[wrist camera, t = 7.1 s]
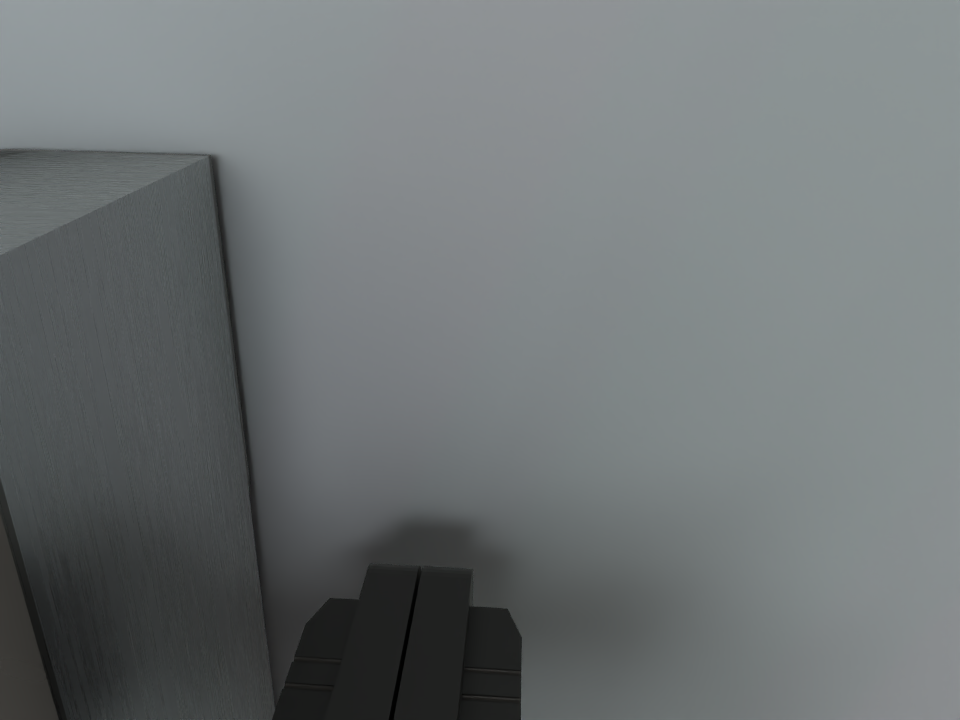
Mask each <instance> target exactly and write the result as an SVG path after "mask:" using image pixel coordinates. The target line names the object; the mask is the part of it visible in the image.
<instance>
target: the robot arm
mask: <svg viewBox="0 0 960 720" xmlns="http://www.w3.org/2000/svg"><path fill="white" fill-rule="evenodd" d="M472 602H473V569H463V568H446V567H430V566H423V568H422V571H421V567H420V566H409V565H392V564H375V563H371V564H370V565H369V567H368V570H367V573H366V576H365V580H364V583H363V587H362V590H361V594H360V598H359V600H352V599H336V598H330V599H329V600H328V601H327V602H326V603H325V604H324V605H323V606H322V607H321V608H320V609H319V611H318V612H317V613H316V614H315V615H314V616H313V617H312V618H311V619H310V620H309V621H308V622H307V623H306V625H305V628H304V631H303V633H302V636H301V639H300V642H299V645H298V647H297V650H296V653H295V658H294V662H292V664H291V667H290V670H289V673H288V675H287V678H286V681H285V688H284V689H282V692H281V695H280V698H279V701H278V703H277V706H276V709H275V712H274V715H273V717H272V720H521V648H522V637H521V635H520V633H519V631H518V629H517V627H516V625H515V623H514V621H513V619H512V617H511V615H510V613H509V611H508V609H503V608H487V607H472Z"/></svg>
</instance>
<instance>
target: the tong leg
mask: <svg viewBox="0 0 960 720" xmlns="http://www.w3.org/2000/svg"><path fill="white" fill-rule="evenodd" d="M249 486H250V477H249V469H248V460H247V452H246V444H245V435H244V427H243V419H242V410H241V402H240V393H239V385H238V377H237V368H236V360H235V352H234V343H233V335H232V326H231V318H230V310H229V301H228V293H227V285H226V276H225V268H224V259H223V251H222V243H221V234H220V226H219V218H218V209H217V201H216V192H215V184H214V176H213V167H212V159H211V155H194V154H159V153H124V152H89V151H54V150H18V149H0V720H272V717H273V715H274V712H275V704H274V696H273V688H272V679H271V671H270V663H269V655H268V646H267V638H266V630H265V622H264V613H263V605H262V597H261V588H260V580H259V572H258V564H257V555H256V547H255V539H254V531H253V522H252V514H251V506H250V497H249V489H248V487H249Z"/></svg>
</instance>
